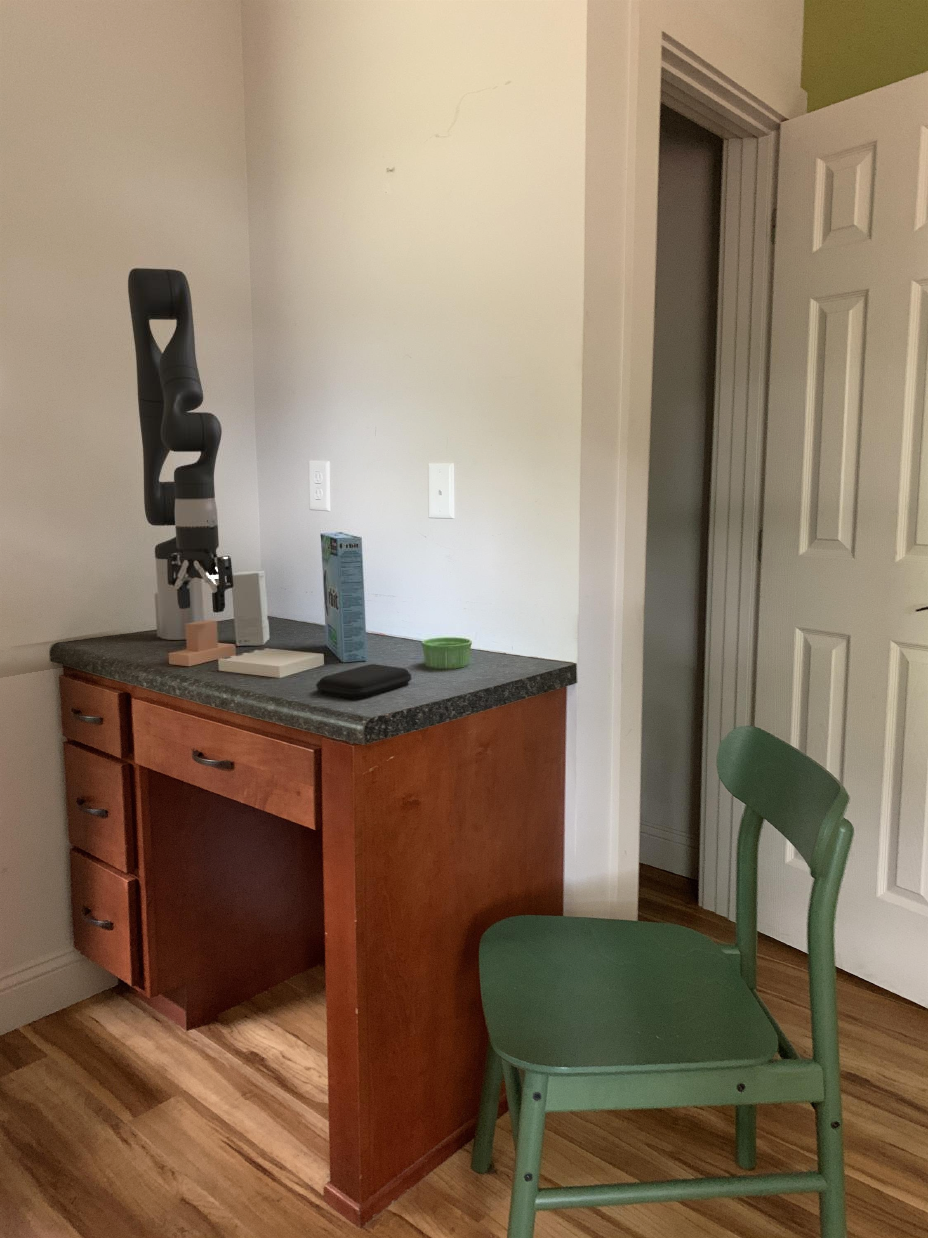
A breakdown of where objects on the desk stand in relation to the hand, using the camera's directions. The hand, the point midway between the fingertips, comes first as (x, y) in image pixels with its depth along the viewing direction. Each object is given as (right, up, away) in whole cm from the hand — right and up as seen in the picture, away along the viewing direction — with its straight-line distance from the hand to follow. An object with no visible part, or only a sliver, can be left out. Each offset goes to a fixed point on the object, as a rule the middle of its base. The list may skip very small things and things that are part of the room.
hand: (201, 610), depth 169 cm
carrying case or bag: (+33, -13, -24) cm, 43 cm away
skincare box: (+5, -7, +19) cm, 20 cm away
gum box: (+26, -8, +6) cm, 28 cm away
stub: (0, -9, +1) cm, 9 cm away
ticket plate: (+15, -10, -7) cm, 19 cm away
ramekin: (+46, -10, -6) cm, 48 cm away
